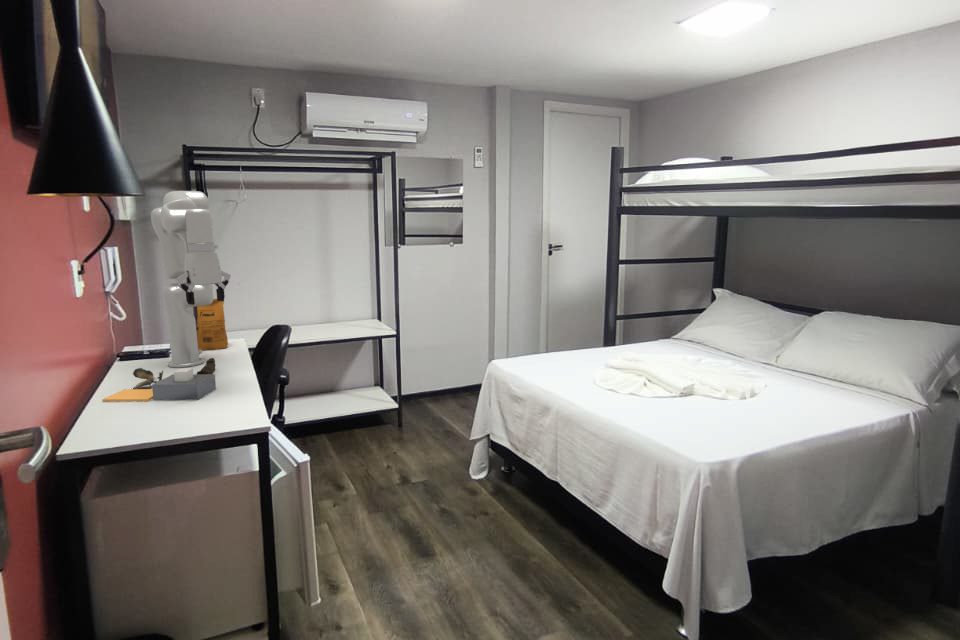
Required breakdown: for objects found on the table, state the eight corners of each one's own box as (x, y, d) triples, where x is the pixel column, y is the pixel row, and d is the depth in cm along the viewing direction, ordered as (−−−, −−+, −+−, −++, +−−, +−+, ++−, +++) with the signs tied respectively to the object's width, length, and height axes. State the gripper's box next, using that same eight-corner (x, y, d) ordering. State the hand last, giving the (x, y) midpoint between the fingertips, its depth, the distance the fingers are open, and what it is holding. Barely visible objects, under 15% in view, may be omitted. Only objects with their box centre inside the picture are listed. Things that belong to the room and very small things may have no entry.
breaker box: (174, 389, 194) (172, 374, 193) (216, 389, 193) (214, 374, 193) (153, 400, 182) (151, 384, 181) (198, 400, 182) (196, 384, 181)
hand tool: (208, 381, 204) (207, 368, 203) (196, 382, 203) (195, 369, 202) (221, 368, 222) (220, 356, 221) (210, 369, 221) (209, 356, 221)
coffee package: (197, 347, 259) (193, 297, 256) (228, 344, 264) (224, 296, 260) (196, 351, 250) (191, 300, 247) (228, 349, 255) (224, 298, 251)
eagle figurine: (162, 378, 203) (132, 377, 199) (164, 364, 199) (133, 362, 195) (160, 395, 197) (129, 394, 193) (161, 380, 193) (130, 379, 189)
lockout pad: (124, 391, 191) (124, 389, 191) (166, 391, 191) (166, 389, 191) (102, 401, 181) (102, 399, 181) (147, 401, 180) (147, 399, 180)
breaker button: (181, 380, 189) (180, 368, 188) (193, 380, 189) (192, 368, 188) (175, 384, 185) (173, 371, 184) (187, 384, 185) (186, 371, 184)
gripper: (221, 247, 194) (225, 299, 197) (167, 249, 181) (173, 305, 183) (233, 247, 190) (237, 300, 192) (179, 249, 176) (184, 306, 179)
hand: (206, 302), depth 188 cm, fingers open, 9 cm apart
